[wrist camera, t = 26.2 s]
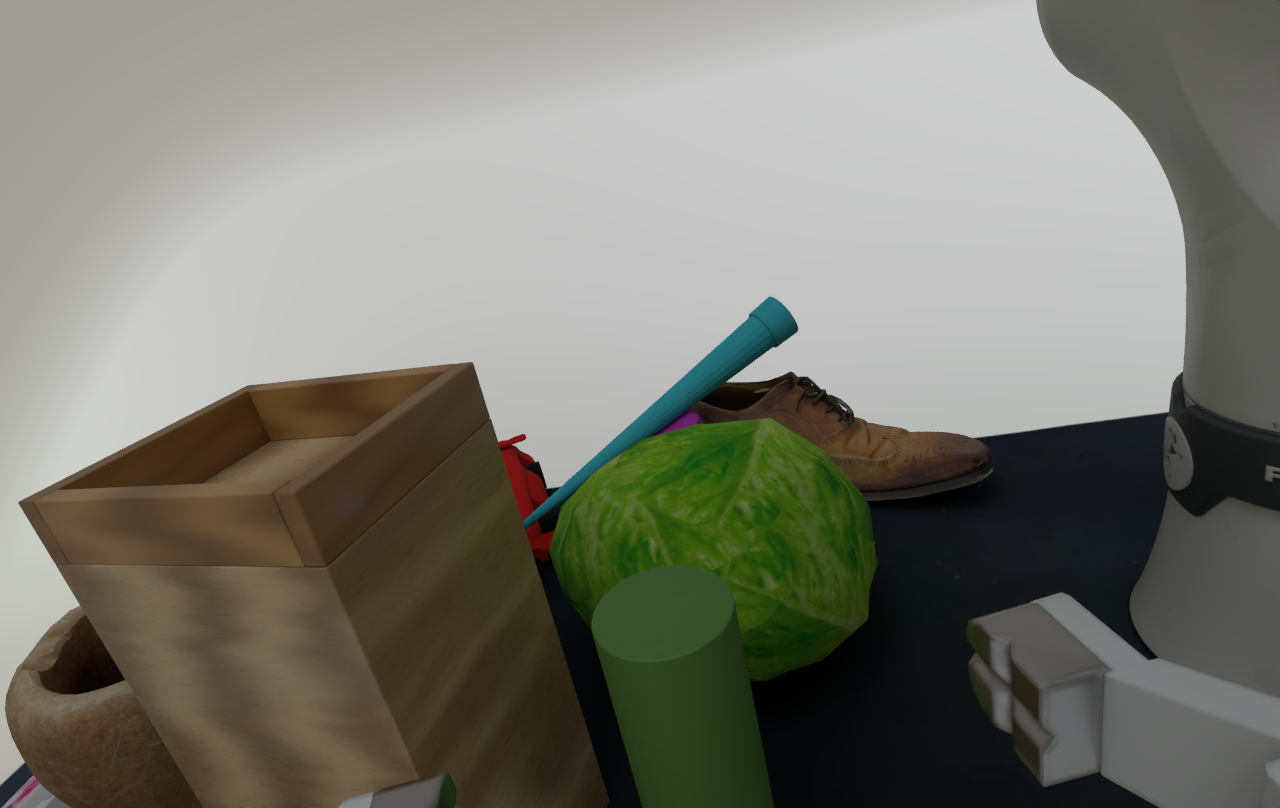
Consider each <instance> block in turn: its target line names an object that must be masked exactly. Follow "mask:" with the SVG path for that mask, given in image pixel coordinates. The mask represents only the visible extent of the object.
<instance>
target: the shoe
mask: <svg viewBox="0 0 1280 808" xmlns="http://www.w3.org/2000/svg"><path fill="white" fill-rule="evenodd" d="M811 384H813V386H812V385H811ZM816 392H817V393H816ZM838 403H839V404H840V405H842V406H843V407H845V408H846V409H847V411H845V410H843V409H842V407H841V406H840V405H839V404H838ZM691 408H692V409H694V410H695V411H696V412H697V413H698V415H699V416H700V418H701V419H702V421H703V423H704V424H713V423H724V422H734V421H744V420H755V419H765V418H771V419H772V420H774V421H776V422H777V423H779V424H781V425H782V426H784V427H786V428H787V429H789V430H791V431H792V432H794V433H796V434H797V435H799V436H801V437H802V438H804V439H806V440H807V441H809V442H811V443H812V444H814V445H816V446H817V447H819V448H821V449H822V450H824V451H825V452H826V453H827V454H828V455H829V457H830V458H831V459H832V460H833V461H834V462H835V464H836V465H837V466H838V467H839V468H840V469H841V471H842V472H843V473H844V474H845V475H846V476H847V478H848V479H849V480H850V481H851V482H852V483H853V484H854V486H855V487H856V488H857V489H858V490H859V491H860V493H861V494H862V496H863V498H864V499H865V500H869V501H878V500H888V499H904V498H912V497H920V496H925V495H929V494H933V493H937V492H942V491H946V490H951V489H955V488H959V487H963V486H966V485H970V484H973V483H976V482H979V481H981V480H983V479H984V478H985V477H987V476H988V475H989V474H990V473H991V472H992V471H993V470H994V469H992V468H993V465H994V463H995V461H994V459H993V457H992V456H991V451H990V449H989V448H988V446H987V445H985V444H984V443H982V442H981V441H978V440H976V439H973V438H970V437H967V436H964V435H960V434H953V433H946V432H909V431H907V430H905V429H902V428H897V427H890V426H883V425H878V424H874V423H867V422H866V421H865V420H863V419H860V418H856V417H854V413H853V411H852V410H851V408H850V407H849V406H848V405H847V404H846V403H844V402H843V401H842V400H841V399H839V398H837V397H835V396H832V395H828V394H826V390H821V389H820V388H819V387H818V386H817V385H816V384H815V383H814V382H813V381H812V380H810V379H809V378H808V377H797V376H796V375H795V374H794V373H793V372H789V373H787V374H785V375H783V376H780V377H778V378H775V379H772V380H769V381H762V382H742V383H741V382H735V383H734V382H725V383H723V384H722V385H721V386H719V387H718V388H717V389H715V390H714V391H713V392H711V393H710V394H709V395H707V396H706V397H705V398H703V399H702V400H700V401H699V402H698V403H696V404H695V405H694V406H692V407H691ZM978 487H980V486H979V485H978Z"/></svg>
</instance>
